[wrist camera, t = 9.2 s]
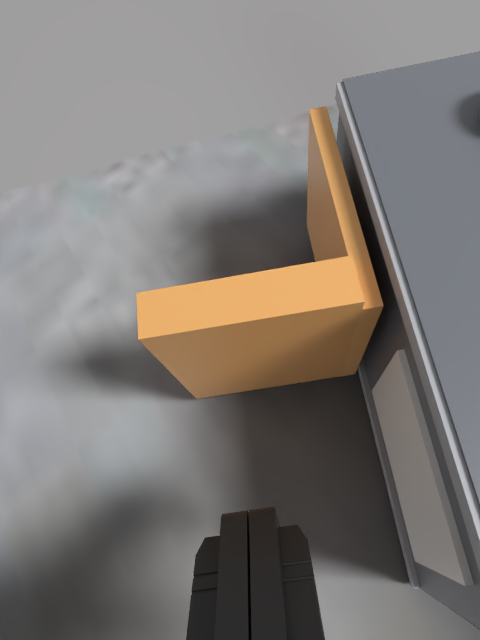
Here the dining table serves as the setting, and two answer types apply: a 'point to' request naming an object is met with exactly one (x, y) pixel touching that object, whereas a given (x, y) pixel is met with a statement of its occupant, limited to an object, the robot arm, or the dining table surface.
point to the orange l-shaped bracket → (276, 301)
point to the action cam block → (423, 307)
